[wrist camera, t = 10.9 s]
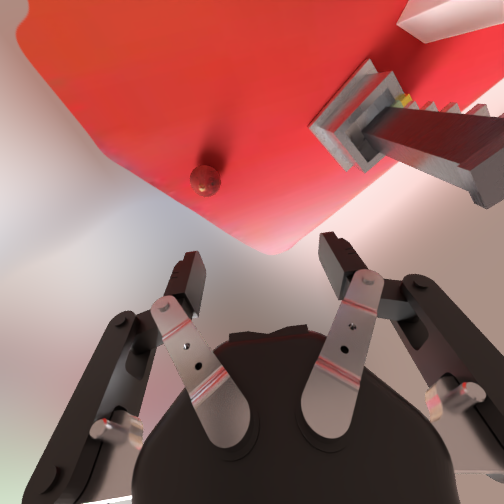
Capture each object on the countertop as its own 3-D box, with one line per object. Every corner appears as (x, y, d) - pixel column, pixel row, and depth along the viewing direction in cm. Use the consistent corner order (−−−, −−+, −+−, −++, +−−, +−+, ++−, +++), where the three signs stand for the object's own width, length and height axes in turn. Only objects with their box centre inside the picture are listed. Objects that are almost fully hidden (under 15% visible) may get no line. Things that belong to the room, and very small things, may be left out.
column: (355, 131, 30) (469, 171, 15) (391, 96, 28) (568, 101, 13) (372, 155, 32) (487, 209, 17) (406, 124, 30) (574, 156, 15)
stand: (307, 126, 38) (323, 135, 30) (365, 59, 32) (402, 49, 25) (343, 169, 43) (365, 185, 35) (398, 117, 37) (437, 124, 30)
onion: (219, 158, 40) (215, 171, 34) (224, 187, 44) (221, 202, 38) (190, 162, 40) (181, 175, 34) (197, 189, 44) (190, 206, 38)
